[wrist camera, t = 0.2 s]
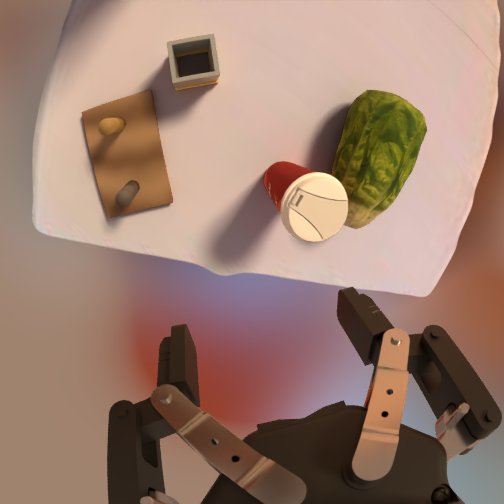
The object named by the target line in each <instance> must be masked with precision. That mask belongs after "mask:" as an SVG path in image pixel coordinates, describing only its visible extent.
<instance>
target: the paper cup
mask: <svg viewBox="0 0 504 504" xmlns="http://www.w3.org/2000/svg"><path fill="white" fill-rule="evenodd" d="M264 185H265V188H266V190H267V192H268V194H269V195H270V197H271V199H272V201H273V202H274V204H275V206H276V207H277V209H278V211H279V212H280V214H281V219H282V222H283V224H284V226H285V228H286V229H287V230H288V232H289V233H290V234H292V235H293V236H294V237H296V238H298V239H301V240H305V241H311V242H317V241H323V240H325V239H327V238H329V237H331V236H333V235H334V234H335V233H337V232H338V230H339V229H340V228H341V227H342V226H343V224H344V222H345V220H346V217H347V213H348V198H347V195H346V192H345V189H344V187H343V186H342V184H341V183H340V182H339V181H338V180H337V179H336V178H335V177H333V176H331V175H329V174H326V173H320V172H314V171H312V170H309V169H307V168H304V167H301V166H299V165H296V164H293V163H290V162H285V161H282V162H277V163H275V164H273V165H271V166H270V167H269V168H268V170H267V171H266V173H265V176H264ZM322 239H323V240H322Z"/></svg>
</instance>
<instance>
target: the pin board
mask: <svg viewBox="0 0 504 504" xmlns="http://www.w3.org/2000/svg"><path fill="white" fill-rule="evenodd" d="M82 116H83V122H84V127H85V132H86V137H87V142H88V146H89V151H90V155H91V159H92V164H93V168H94V172H95V175H96V179H97V183H98V187H99V190H100V194H101V197H102V201H103V204H104V207H105V211H106V214H107V217H108V218H112V217H116V216H119V215H123V214H127V213H131V212H135V211H139V210H143V209H148V208H152V207H156V206H160V205H165V204H169V203H173V197H172V193H171V188H170V184H169V179H168V175H167V170H166V165H165V160H164V156H163V151H162V146H161V140H160V135H159V130H158V124H157V119H156V113H155V107H154V101H153V95H152V91H151V90H149V91H145V92H141V93H138V94H134V95H131V96H128V97H124V98H121V99H118V100H115V101H112V102H109V103H106V104H103V105H100V106H97V107H94V108H92V109H89V110H86V111H84V112H82Z"/></svg>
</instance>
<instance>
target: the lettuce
mask: <svg viewBox="0 0 504 504" xmlns="http://www.w3.org/2000/svg"><path fill="white" fill-rule="evenodd" d="M426 131H427V127H426V122H425V117H424V116H423V114H422V113H421V112H420V111H419V110H418V109H417V108H415V107H414V106H413V105H412V104H411V103H409V102H408V101H407V100H405V99H403V98H401V97H399V96H397V95H395V94H392V93H388V92H384V91H377V90H367V91H365V92H364V93H363V94H361V95H360V96H359V97H357V98H356V99H355V100H354V102H353V104H352V106H351V107H350V109H349V111H348V114H347V117H346V121H345V124H344V129H343V134H342V138H341V141H340V143H339V146H338V149H337V152H336V155H335V158H334V162H333V168H332V174H331V176H333V177H335V178H336V179H337V180H338V181H339V182H340V183H341V184H342V186H343V187H344V189H345V192H346V195H347V198H348V213H347V217H346V220H345V222H344V224H343V225H345V226H348V227H351V228H354V229H358V228H361V227H363V226H365V225H367V224H369V223H370V222H371V221H372V220H374V219H375V218H376V217H377V216H378V215H379V214H380V213H382V212H383V211H385V210H386V209H387V208H388V207H389V206H390V205H391V204H392V203H393V202H394V200H395V199H396V197H397V196H398V194H399V192H400V191H401V189H402V187H403V185H404V183H405V181H406V180H407V178H408V177H409V175H410V174H411V172H412V170H413V168H414V165H415V162H416V160H417V157H418V153H419V150H420V147H421V144H422V141H423V139H424V137H425V134H426Z"/></svg>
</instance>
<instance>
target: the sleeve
mask: <svg viewBox="0 0 504 504" xmlns="http://www.w3.org/2000/svg"><path fill="white" fill-rule="evenodd" d="M167 48H168V56H169V63H170V70H171V77H172V83H173V84H174V86H175V90H176V91H177V90H182V89H187V88H192V87H198V86H203V85H209V84H216V83H218V82H219V80H218V78H219V76H220V71H219V64H218V58H217V51H216V44H215V37H214V34H210V35H203V36H197V37H191V38H185V39H180V40H175V41H170V42H167ZM202 52H208V55H209V62H210V69H211V72H207V73H201V74H195V75H190V76H185V77H180V78H179V71H178V64H177V57H180V56H185V55H190V54H196V53H202Z"/></svg>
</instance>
